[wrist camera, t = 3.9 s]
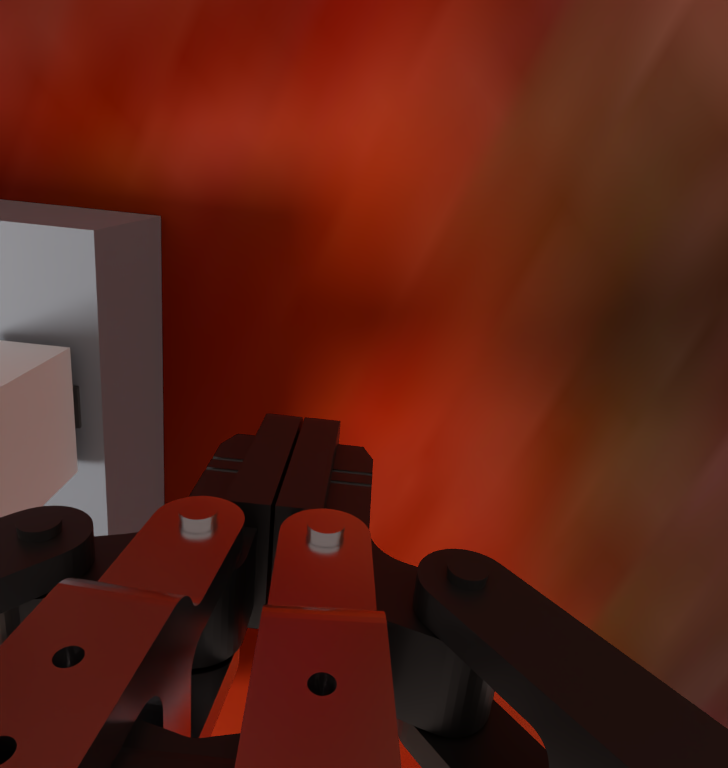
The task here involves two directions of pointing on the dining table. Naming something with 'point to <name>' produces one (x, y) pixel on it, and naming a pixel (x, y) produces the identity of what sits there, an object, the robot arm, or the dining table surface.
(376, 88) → the dining table surface
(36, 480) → the matte white cuboid
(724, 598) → the dining table surface
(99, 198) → the dining table surface
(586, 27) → the dining table surface
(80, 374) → the panel
